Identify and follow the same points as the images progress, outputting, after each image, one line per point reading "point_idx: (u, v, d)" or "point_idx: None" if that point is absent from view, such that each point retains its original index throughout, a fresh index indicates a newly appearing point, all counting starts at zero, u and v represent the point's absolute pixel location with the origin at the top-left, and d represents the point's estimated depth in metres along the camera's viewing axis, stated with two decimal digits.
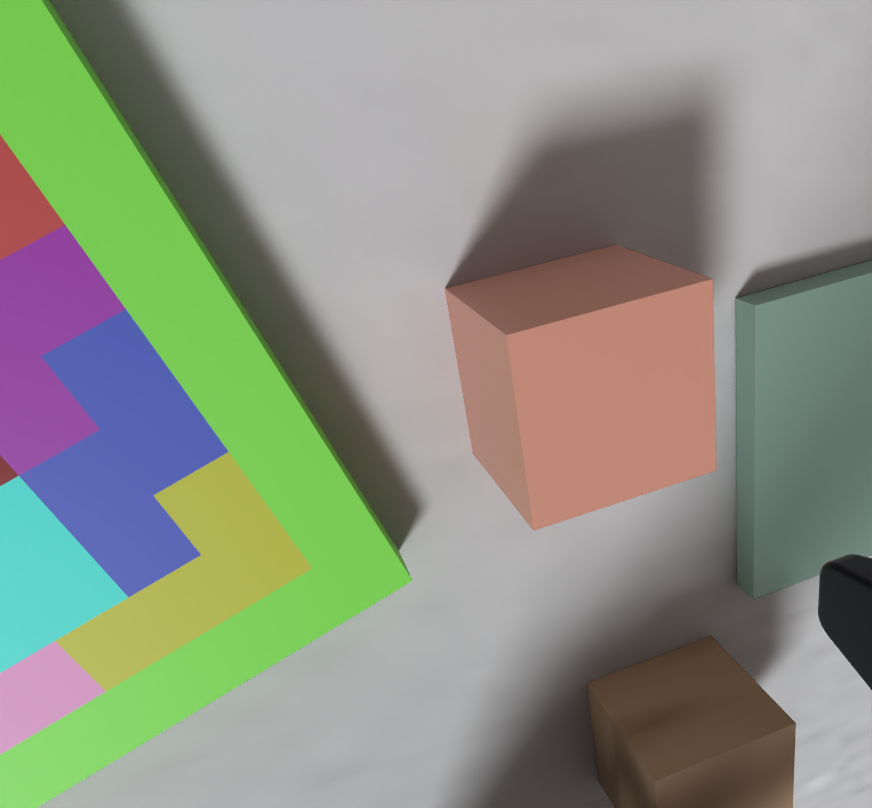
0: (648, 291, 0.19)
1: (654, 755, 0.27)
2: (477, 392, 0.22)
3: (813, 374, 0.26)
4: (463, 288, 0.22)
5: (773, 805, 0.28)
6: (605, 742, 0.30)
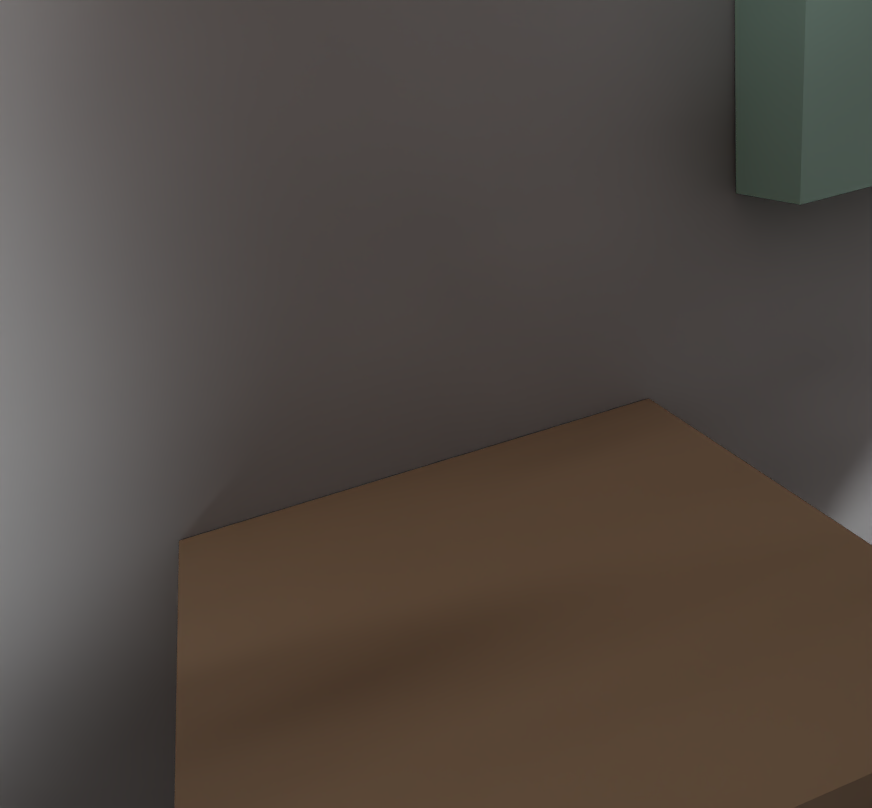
0: None
1: None
2: None
3: None
4: None
5: None
6: None
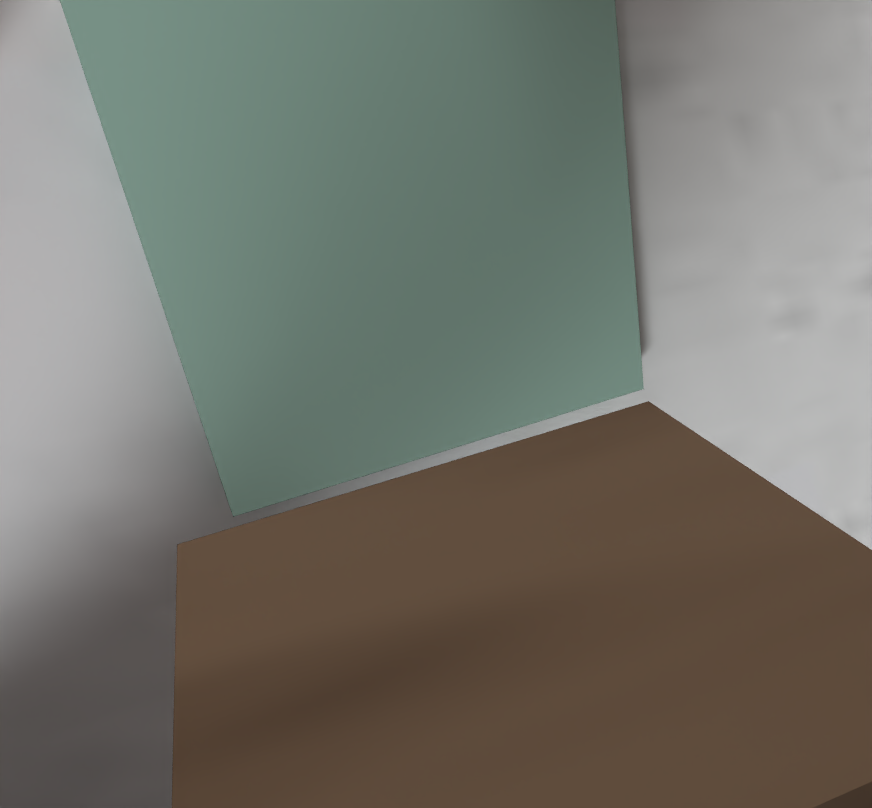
0: None
1: None
2: None
3: (225, 139, 0.17)
4: None
5: None
6: None
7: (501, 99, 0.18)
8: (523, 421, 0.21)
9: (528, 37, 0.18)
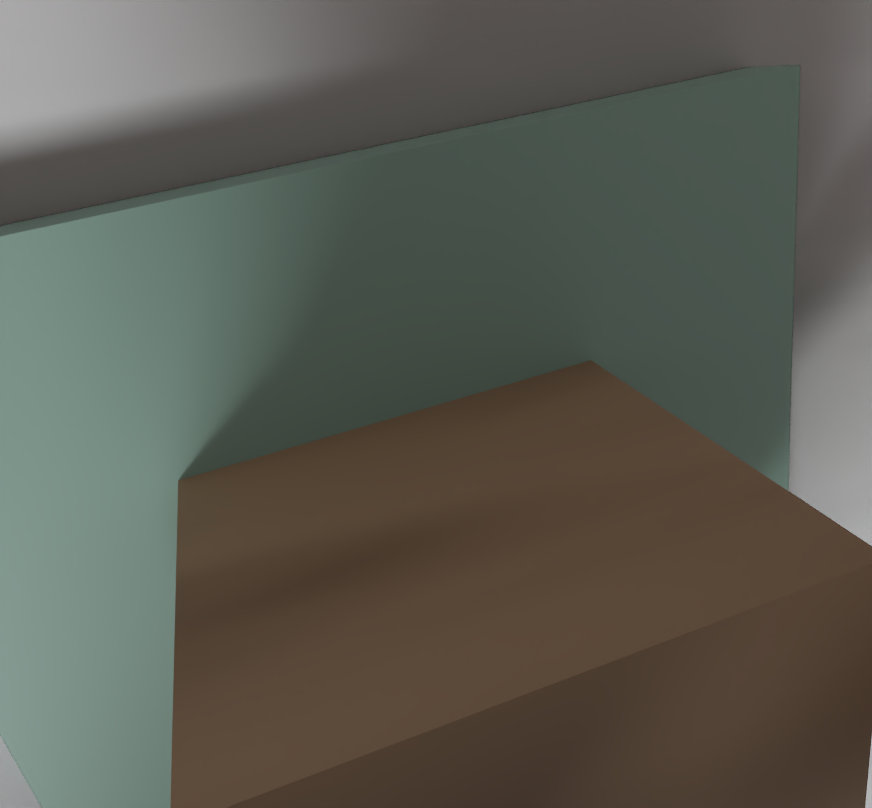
0: None
1: (243, 701, 0.06)
2: None
3: (108, 491, 0.09)
4: None
5: None
6: None
7: None
8: None
9: (648, 279, 0.10)
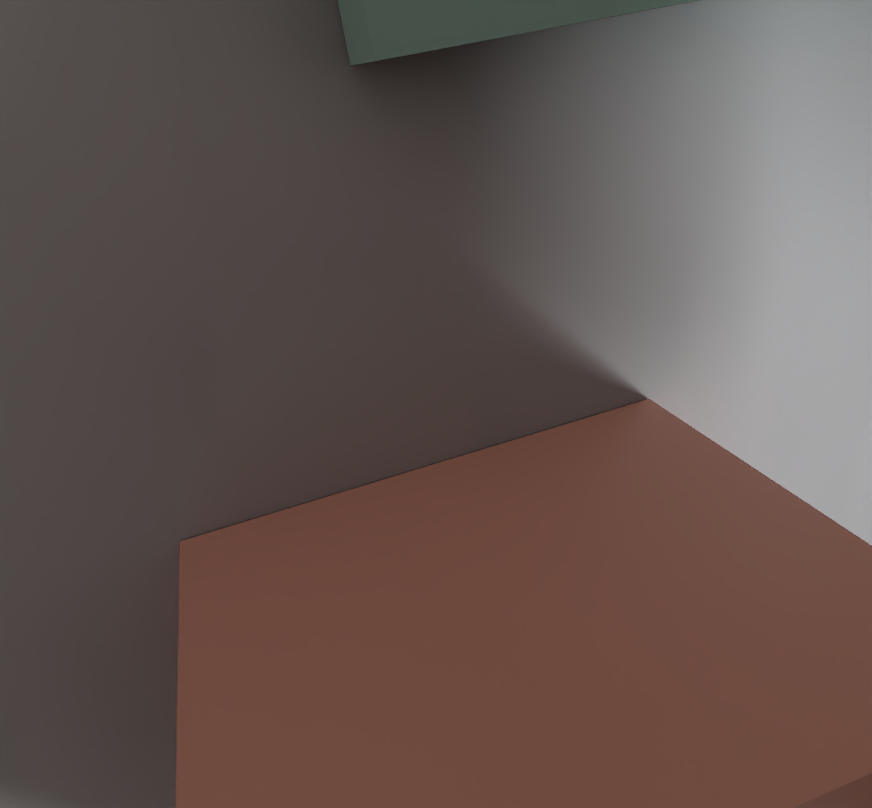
0: None
1: None
2: None
3: None
4: None
5: None
6: None
7: None
8: None
9: None
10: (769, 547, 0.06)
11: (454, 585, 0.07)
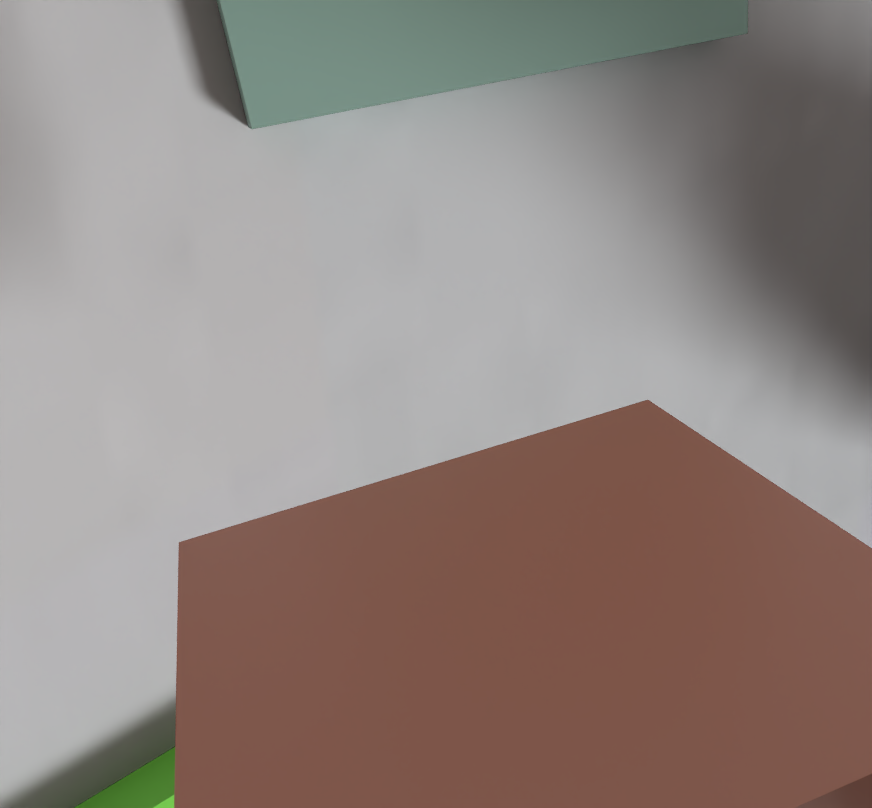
0: None
1: None
2: None
3: None
4: None
5: None
6: None
7: None
8: None
9: None
10: (767, 548, 0.06)
11: (452, 585, 0.07)
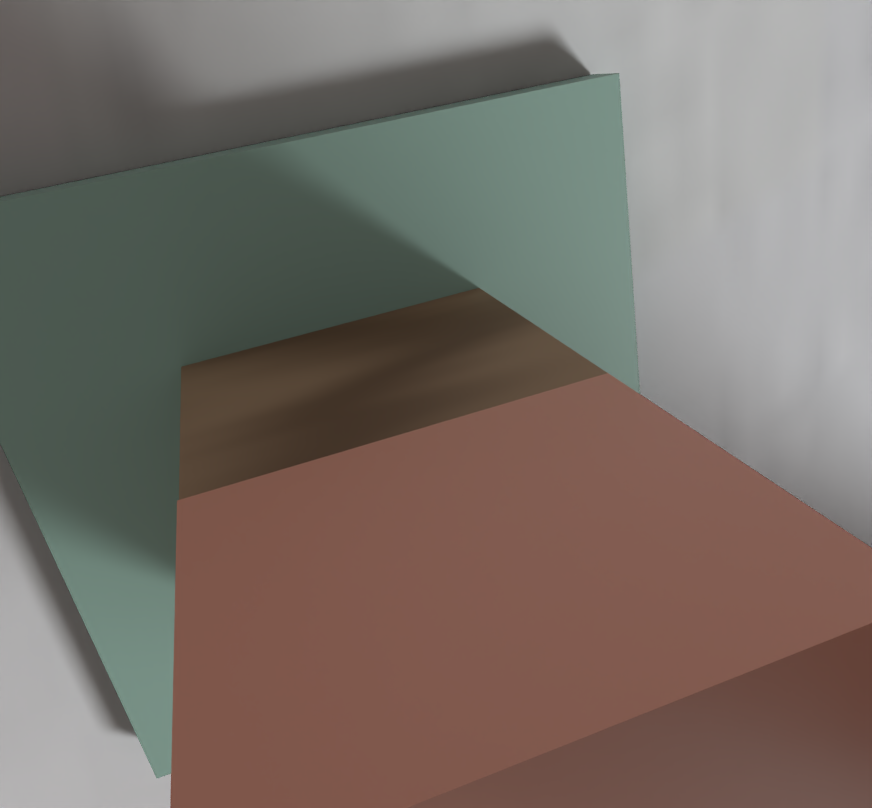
0: None
1: None
2: None
3: None
4: None
5: None
6: None
7: (196, 359, 0.13)
8: (625, 278, 0.15)
9: (108, 330, 0.13)
10: (699, 496, 0.07)
11: (420, 530, 0.07)
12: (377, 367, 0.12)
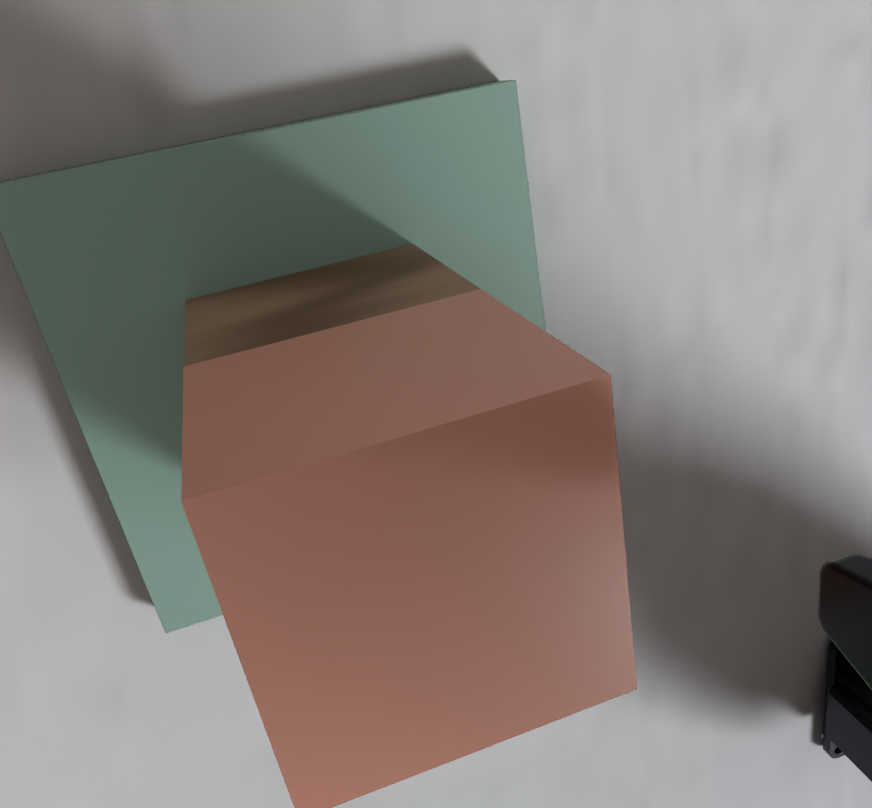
0: (219, 594, 0.10)
1: None
2: None
3: None
4: None
5: None
6: None
7: (196, 294, 0.18)
8: (529, 238, 0.20)
9: (131, 270, 0.17)
10: (506, 344, 0.12)
11: (336, 369, 0.12)
12: (327, 293, 0.16)
